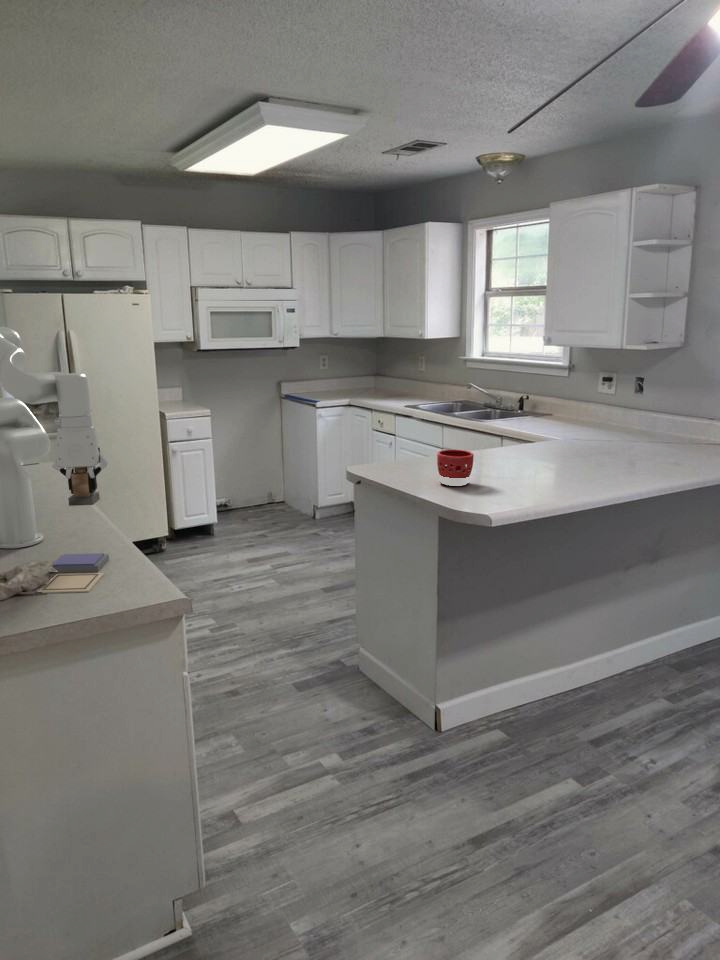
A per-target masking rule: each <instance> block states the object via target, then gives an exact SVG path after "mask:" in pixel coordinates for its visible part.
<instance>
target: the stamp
mask: <svg viewBox="0 0 720 960" xmlns="http://www.w3.org/2000/svg"><path fill="white" fill-rule="evenodd" d="M89 476H90V475H89V472H88V469H87V467H81V468H74V473H72V474H71V479H72V488H73V494H71V495H70V496H69V497H68V506H69V507H71V506H93V505H95V504H96V503H97V502H98V501H100V500H101V499H100V498H101V497H100V492H99V491H95V492H94V493H90V492H89V482H88V479H89Z"/></svg>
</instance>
